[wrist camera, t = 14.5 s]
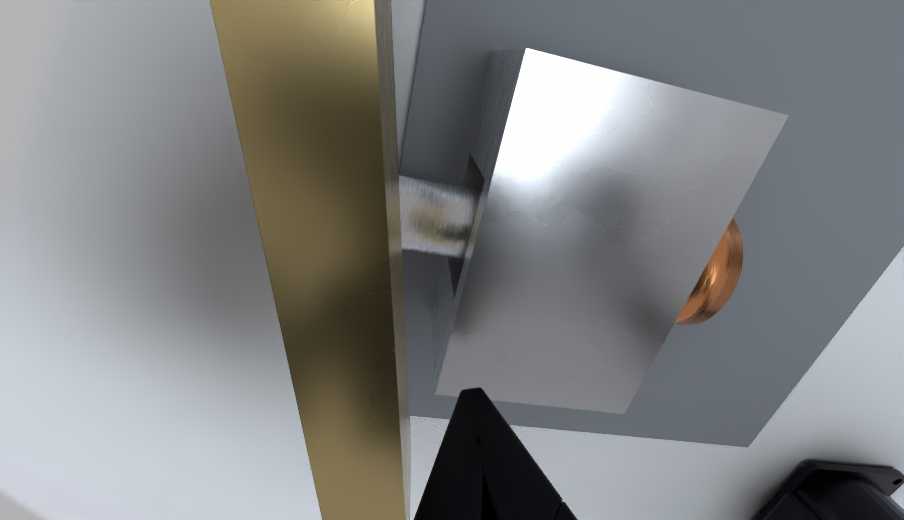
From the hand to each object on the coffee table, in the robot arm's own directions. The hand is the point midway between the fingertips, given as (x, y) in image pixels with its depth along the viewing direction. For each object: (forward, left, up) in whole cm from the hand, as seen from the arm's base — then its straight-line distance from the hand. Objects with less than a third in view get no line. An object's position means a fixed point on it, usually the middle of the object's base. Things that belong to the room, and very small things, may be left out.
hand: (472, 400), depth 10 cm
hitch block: (-2, -3, -6) cm, 7 cm away
